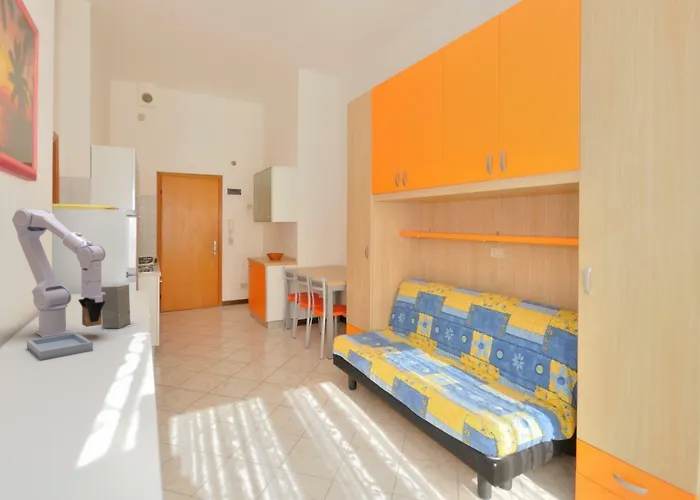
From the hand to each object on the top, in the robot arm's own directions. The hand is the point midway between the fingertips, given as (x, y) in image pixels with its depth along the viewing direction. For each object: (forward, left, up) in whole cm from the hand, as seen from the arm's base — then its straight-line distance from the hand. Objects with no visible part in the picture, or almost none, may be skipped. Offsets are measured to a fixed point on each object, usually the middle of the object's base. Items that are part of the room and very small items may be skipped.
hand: (91, 320), depth 137 cm
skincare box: (-10, +11, -6) cm, 16 cm away
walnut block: (0, 0, -2) cm, 2 cm away
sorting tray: (+9, -11, -6) cm, 16 cm away
